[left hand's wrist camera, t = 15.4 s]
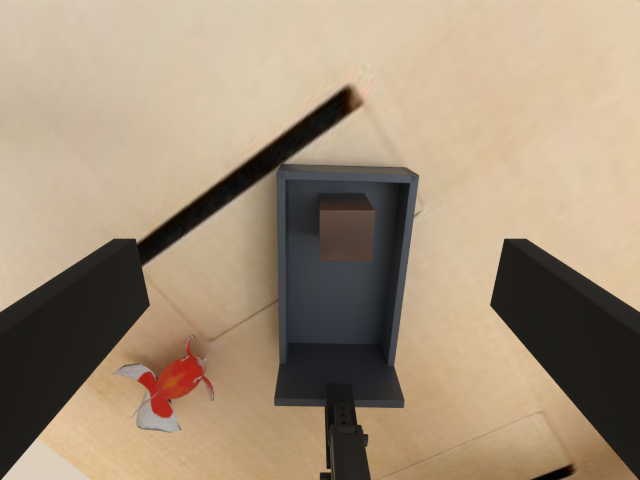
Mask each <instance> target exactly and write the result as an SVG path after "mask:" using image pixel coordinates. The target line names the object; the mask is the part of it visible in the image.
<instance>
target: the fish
mask: <svg viewBox="0 0 640 480" xmlns="http://www.w3.org/2000/svg"><path fill="white" fill-rule="evenodd" d="M194 337H195V336H193V335H191V336H190V338H189V339H188V341H187V343H186V345H185V352H186V356H187V357H184V358H181V359H179V360H177V361H175V362H173V363H171V364H170V365H169V366H168V367H166V368H165V369H164V370H163V372H162V373H161V375H160V376H159V378H157V377H156V375H155V374H154V373H153V372H152V371H151V370H150V369H148V368H147V367H145V366H143V365H141V364H132V365H124V366H123V367H122V368H120V369H119V370H117V371H116V372H114V373H113V374H119V375H124V376H127V377H130V378H133V379H135V380H137V381H138V382H140V383H141V384H143V385H144V386H145V387H146V388H147V393H146V395H145V397H144V399H143V402H142V404H141V405H140V406H139V407H138V409H137V410H136V411H135V413H136V412H137V411H138V410H139V413H138V416H137V426H138V427H139V428H141V429H146V430H158V431H165V432H170V433H171V432H174V431H178V430H181V428H180V427H179V425H178V422H177V419H176V416H175V413H174V410H173V407H172V404H171V400H170V399H176V398H179V397H182V396H184V395H186V394H188V393H189V392H190V391H191V390H193V389H194V388H195V387H196V386H197V385H198V383H199V382H200V380H202V381H204V382H205V383H206V387H207V390H208V392H209V394H210V397H211V400H213V399H214V392H213V387H212V385H211V383H210V381H209V380H208V379H207V378H206V377H205V376H204V373H205V364H204V362H205V361H206V358H204V359H203V360H202V359H201V358H200V357H198V356H195V355H191V351H190V340H191V338H194ZM135 413H134V414H135ZM134 414H133V415H134ZM132 417H133V416H132ZM132 417H131V418H132Z"/></svg>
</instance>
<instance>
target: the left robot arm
mask: <svg viewBox="0 0 640 480" xmlns="http://www.w3.org/2000/svg"><path fill="white" fill-rule="evenodd" d="M149 306H150V304H149V299H148V294H147V290H146V285H145V280H144V276H143V271H142V266H141V262H140V257H139V252H138V248H137V243H136V239H113V240H111V241H110V242H108V243H107V244H105V245H104V246H102V247H101V248H99V249H97V250H96V251H94V252H93V253H91V254H90V255H88V256H87V257H85V258H83V259H82V260H80V261H79V262H77V263H76V264H74V265H73V266H71V267H70V268H68V269H66V270H65V271H63V272H62V273H60V274H59V275H57V276H56V277H54V278H53V279H51V280H49V281H48V282H46V283H45V284H43V285H42V286H40V287H39V288H37V289H35V290H34V291H32V292H31V293H29V294H28V295H26V296H25V297H23V298H22V299H20V300H18V301H17V302H15V303H14V304H12V305H11V306H9V307H8V308H6V309H5V310H3V311H1V312H0V480H1V479H2V478H3V477H4V476H5V475H6V474H7V472H8V471H9V470H10V469H11V468H12V466H13V465H14V464H15V463H16V462H17V460H18V459H19V458H20V457H21V456H22V455H23V454H24V452H25V451H26V450H27V449H28V448H29V446H30V445H31V444H32V443H33V442H34V441H35V439H36V438H37V437H38V436H39V435H40V434H41V432H42V431H43V430H44V429H45V428H46V427H47V425H48V424H49V423H50V422H51V421H52V420H53V418H54V417H55V416H56V415H57V414H58V413H59V411H60V410H61V409H62V408H63V407H64V405H65V404H66V403H67V402H68V401H69V400H70V398H71V397H72V396H73V395H74V394H75V393H76V391H77V390H78V389H79V388H80V387H81V386H82V384H83V383H84V382H85V381H86V380H87V378H88V377H89V376H90V375H91V374H92V373H93V371H94V370H95V369H96V368H97V367H98V366H99V364H100V363H101V362H102V361H103V360H104V359H105V357H106V356H107V355H108V354H109V353H110V352H111V350H112V349H113V348H114V347H115V346H116V344H117V343H118V342H119V341H120V340H121V339H122V337H123V336H124V335H125V334H126V333H127V332H128V330H129V329H130V328H131V327H132V326H133V325H134V323H135V322H136V321H137V320H138V319H139V317H140V316H141V315H142V314H143V313H144V312H145V310H146V309H147V308H148V307H149ZM490 306H491V307H492V308H493V309H494V310H495V312H496V313H497V314H498V315H499V316H500V317H501V319H502V320H503V321H504V322H505V323H506V325H507V326H508V327H509V328H510V329H511V330H512V332H513V333H514V334H515V335H516V336H517V337H518V339H519V340H520V341H521V342H522V343H523V344H524V346H525V347H526V348H527V349H528V350H529V352H530V353H531V354H532V355H533V356H534V357H535V359H536V360H537V361H538V362H539V363H540V364H541V366H542V367H543V368H544V369H545V370H546V371H547V373H548V374H549V375H550V376H551V377H552V378H553V380H554V381H555V382H556V383H557V384H558V386H559V387H560V388H561V389H562V390H563V391H564V393H565V394H566V395H567V396H568V397H569V398H570V400H571V401H572V402H573V403H574V404H575V405H576V407H577V408H578V409H579V410H580V411H581V413H582V414H583V415H584V416H585V417H586V418H587V420H588V421H589V422H590V423H591V424H592V425H593V427H594V428H595V429H596V430H597V431H598V432H599V434H600V435H601V436H602V437H603V438H604V439H605V441H606V442H607V443H608V444H609V445H610V447H611V448H612V449H613V450H614V451H615V452H616V454H617V455H618V456H619V457H620V458H621V459H622V461H623V462H624V463H625V464H626V465H627V466H628V468H629V469H630V470H631V471H632V472H633V474H634V475H635V476H636V477H637V478H638V479H639V480H640V312H639V311H637V310H635V309H634V308H632V307H631V306H629V305H628V304H626V303H625V302H623V301H622V300H620V299H618V298H617V297H615V296H614V295H612V294H611V293H609V292H608V291H606V290H605V289H603V288H601V287H600V286H598V285H597V284H595V283H594V282H592V281H591V280H589V279H587V278H586V277H584V276H583V275H581V274H580V273H578V272H577V271H575V270H574V269H572V268H570V267H569V266H567V265H566V264H564V263H563V262H561V261H560V260H558V259H557V258H555V257H553V256H552V255H550V254H549V253H547V252H546V251H544V250H543V249H541V248H539V247H538V246H536V245H535V244H533V243H532V242H530V241H529V240H527V239H504V243H503V248H502V252H501V257H500V262H499V266H498V271H497V276H496V280H495V285H494V290H493V294H492V299H491V304H490Z"/></svg>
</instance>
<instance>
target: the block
mask: <svg viewBox="0 0 640 480" xmlns="http://www.w3.org/2000/svg"><path fill="white" fill-rule="evenodd" d="M374 222H375V210H374V208H373V206H372V205H371V203H370V201H369V200H368V198H367V196H366V195H365V193H319V260H320V261H372V252H373V237H374Z"/></svg>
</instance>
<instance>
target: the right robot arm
mask: <svg viewBox="0 0 640 480" xmlns="http://www.w3.org/2000/svg"><path fill="white" fill-rule="evenodd" d="M325 432H326V464H327V469H331V473H326V472H320V480H371V478H370V472H369V467H368V461H367V455H366V449H365V447H367V443H368V434H363V430H362V427H361V425H357V419H356V412H355V404H354V397H353V389H352V384H335V383H326V407H325Z"/></svg>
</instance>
